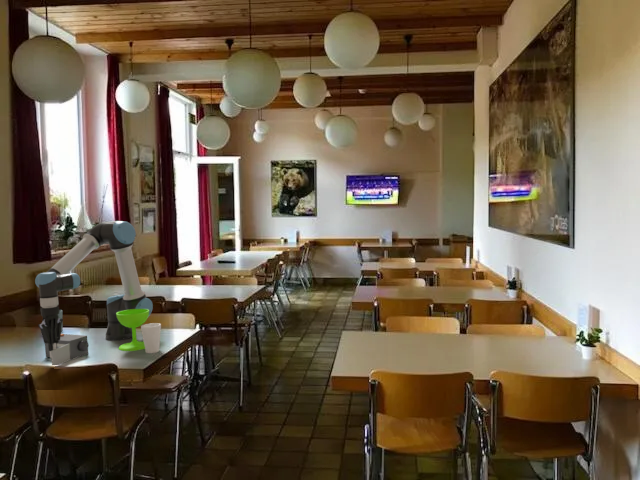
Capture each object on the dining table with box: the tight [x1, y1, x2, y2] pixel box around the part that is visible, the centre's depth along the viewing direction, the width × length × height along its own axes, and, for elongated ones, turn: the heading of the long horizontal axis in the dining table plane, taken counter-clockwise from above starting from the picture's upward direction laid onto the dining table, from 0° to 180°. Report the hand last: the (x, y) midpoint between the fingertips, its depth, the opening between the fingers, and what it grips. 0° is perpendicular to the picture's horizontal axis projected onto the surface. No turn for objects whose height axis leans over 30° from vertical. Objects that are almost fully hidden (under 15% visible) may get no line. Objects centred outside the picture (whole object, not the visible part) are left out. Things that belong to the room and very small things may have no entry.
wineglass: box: [116, 309, 150, 352], centre depth 295 cm, size 16×16×18 cm
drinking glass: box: [58, 309, 64, 332], centre depth 340 cm, size 10×10×12 cm
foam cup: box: [140, 322, 162, 354], centre depth 284 cm, size 10×9×13 cm
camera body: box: [44, 333, 89, 361], centre depth 283 cm, size 18×11×10 cm, turn 67°
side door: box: [50, 343, 71, 366], centre depth 268 cm, size 14×1×8 cm, turn 171°
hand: (53, 357), depth 266 cm, fingers closed
